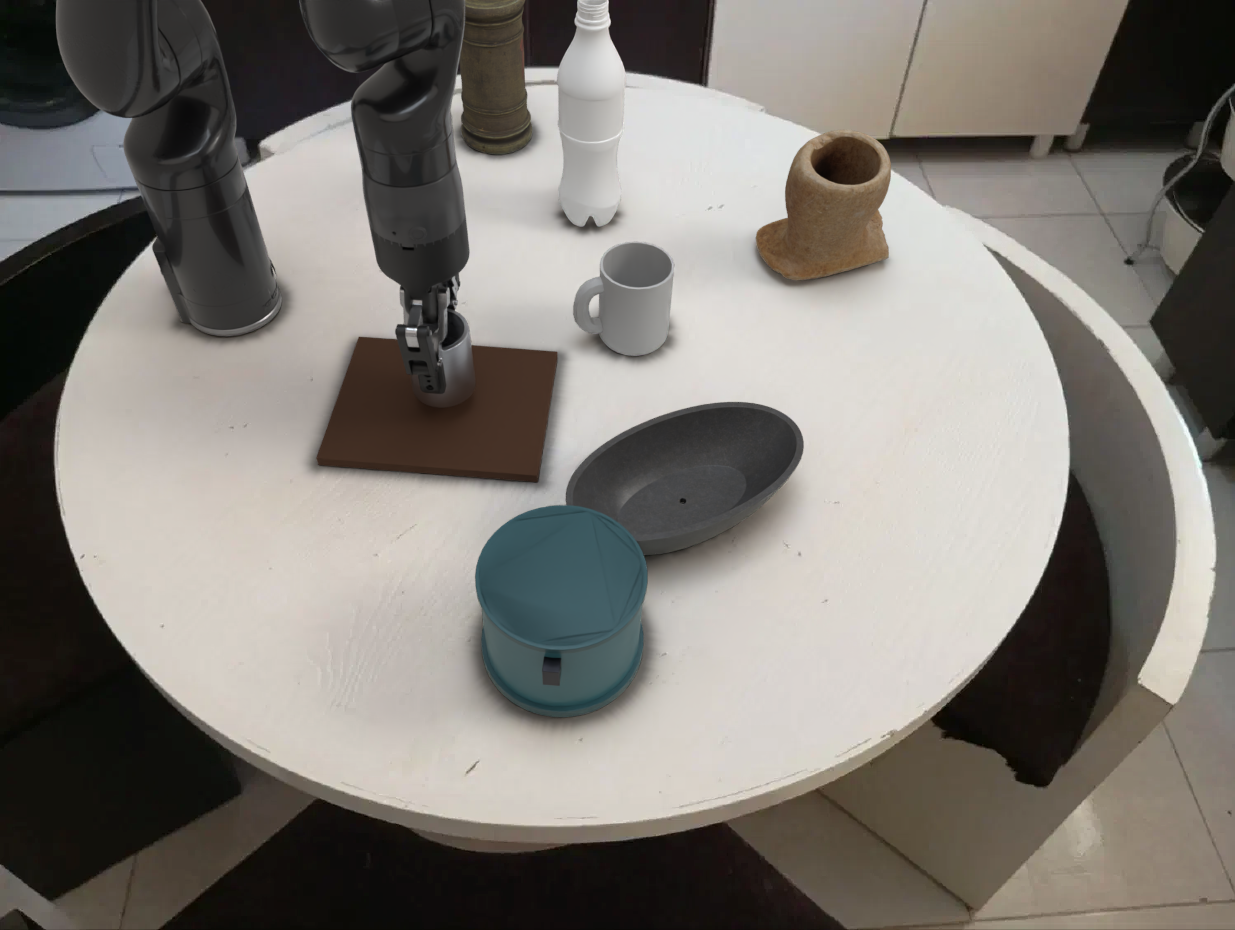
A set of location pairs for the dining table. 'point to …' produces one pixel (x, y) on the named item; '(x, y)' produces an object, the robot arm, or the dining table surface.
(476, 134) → the container
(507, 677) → the teal round canister
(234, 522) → the dining table surface
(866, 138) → the stone cup
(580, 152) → the water bottle
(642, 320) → the cup
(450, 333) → the silver cup
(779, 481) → the bowl
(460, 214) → the robot arm
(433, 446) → the mat
